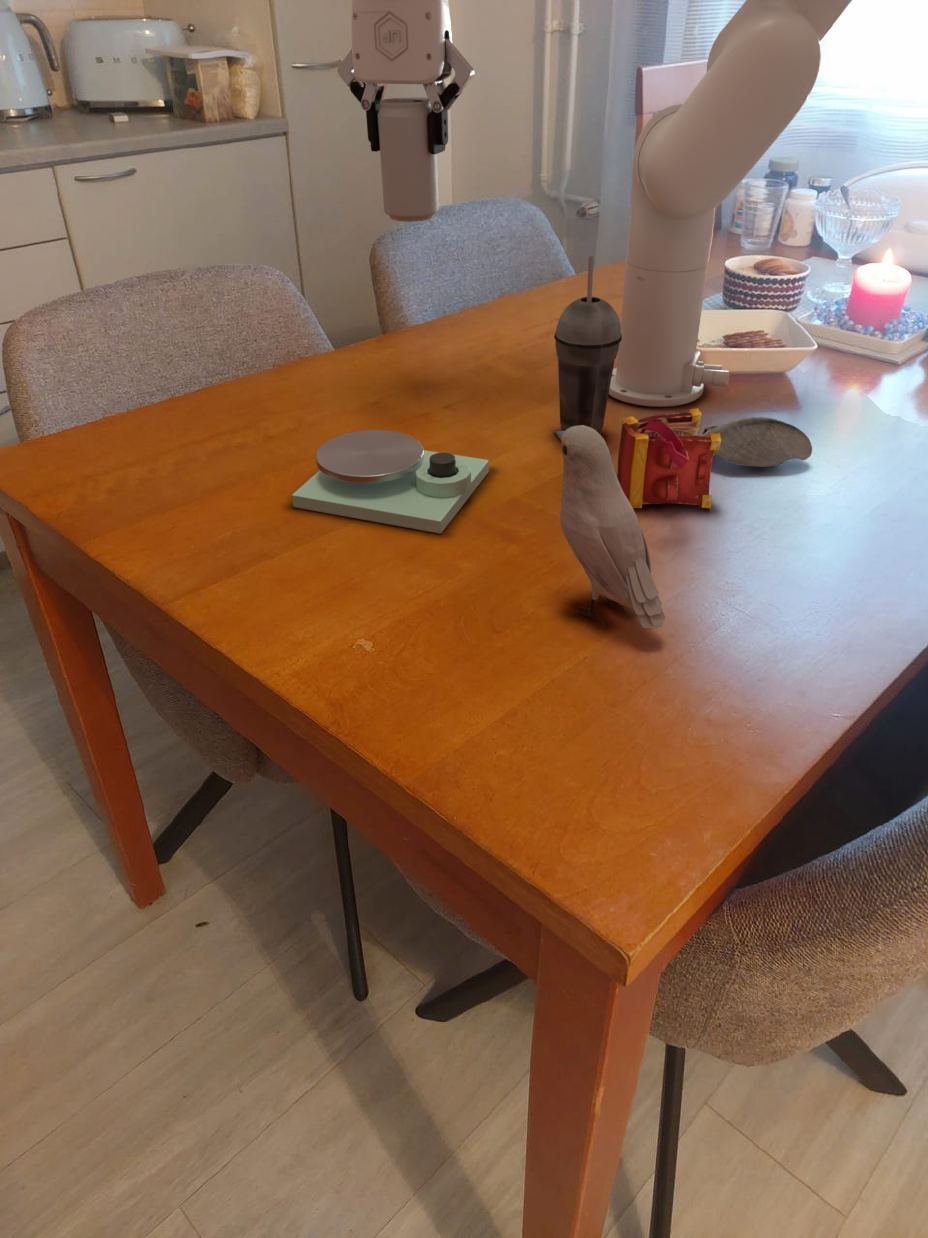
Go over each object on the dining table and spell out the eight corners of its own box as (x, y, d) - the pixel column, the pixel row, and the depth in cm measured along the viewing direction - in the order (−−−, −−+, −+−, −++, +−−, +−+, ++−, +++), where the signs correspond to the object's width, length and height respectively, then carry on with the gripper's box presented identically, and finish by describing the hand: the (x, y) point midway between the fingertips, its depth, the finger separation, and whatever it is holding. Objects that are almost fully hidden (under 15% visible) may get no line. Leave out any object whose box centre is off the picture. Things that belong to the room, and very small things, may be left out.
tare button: (459, 470, 90) (459, 454, 89) (450, 481, 88) (449, 465, 87) (435, 466, 91) (435, 450, 90) (425, 477, 89) (425, 461, 88)
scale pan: (440, 444, 94) (439, 437, 94) (397, 490, 86) (397, 483, 85) (346, 430, 97) (345, 424, 97) (296, 473, 89) (295, 466, 88)
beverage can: (437, 222, 101) (433, 101, 94) (381, 223, 102) (373, 102, 95) (440, 210, 107) (437, 95, 100) (387, 211, 107) (380, 95, 100)
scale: (491, 472, 95) (491, 446, 94) (443, 534, 85) (442, 506, 83) (354, 450, 100) (352, 425, 98) (293, 507, 90) (289, 480, 88)
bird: (567, 564, 80) (577, 405, 72) (678, 636, 71) (706, 464, 63) (525, 582, 78) (530, 420, 69) (634, 658, 69) (656, 484, 60)
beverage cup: (618, 427, 104) (635, 247, 93) (605, 453, 99) (622, 265, 87) (557, 420, 106) (567, 243, 95) (542, 445, 101) (550, 260, 89)
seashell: (800, 446, 100) (810, 403, 97) (814, 479, 93) (825, 435, 90) (692, 441, 101) (698, 399, 98) (698, 474, 94) (705, 430, 91)
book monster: (698, 477, 93) (720, 541, 84) (611, 479, 94) (624, 543, 85) (712, 381, 87) (738, 440, 77) (618, 383, 87) (633, 442, 78)
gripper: (305, -47, 90) (324, 152, 100) (464, -52, 84) (467, 159, 95) (340, -46, 95) (355, 143, 106) (492, -51, 90) (492, 149, 100)
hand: (408, 149), depth 100 cm, fingers closed on beverage can, 6 cm apart
